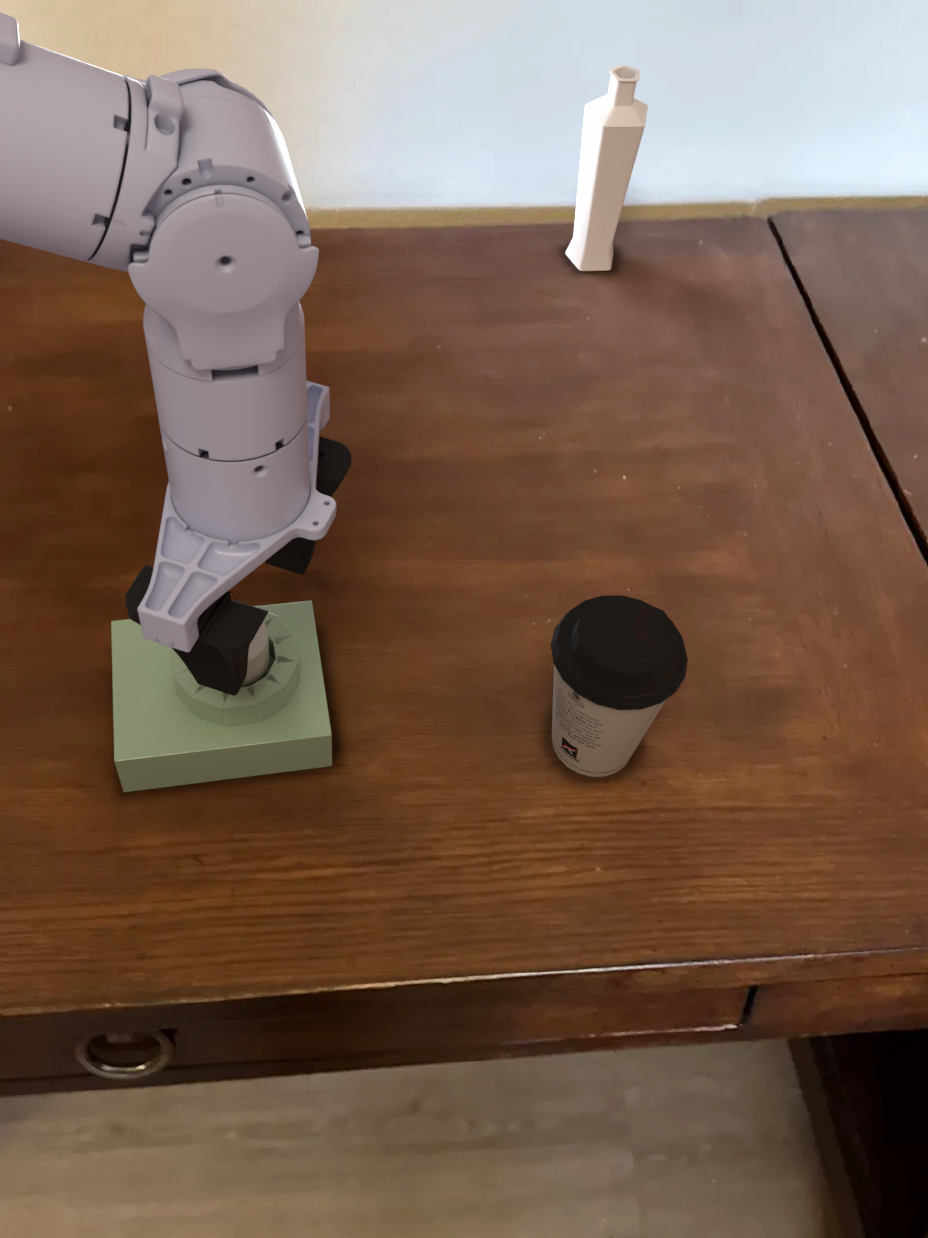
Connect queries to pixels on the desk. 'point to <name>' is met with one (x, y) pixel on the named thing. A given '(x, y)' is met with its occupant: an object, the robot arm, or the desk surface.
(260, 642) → the beige button cap
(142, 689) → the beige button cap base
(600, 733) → the coffee cup
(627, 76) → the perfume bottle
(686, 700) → the desk surface
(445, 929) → the desk surface
